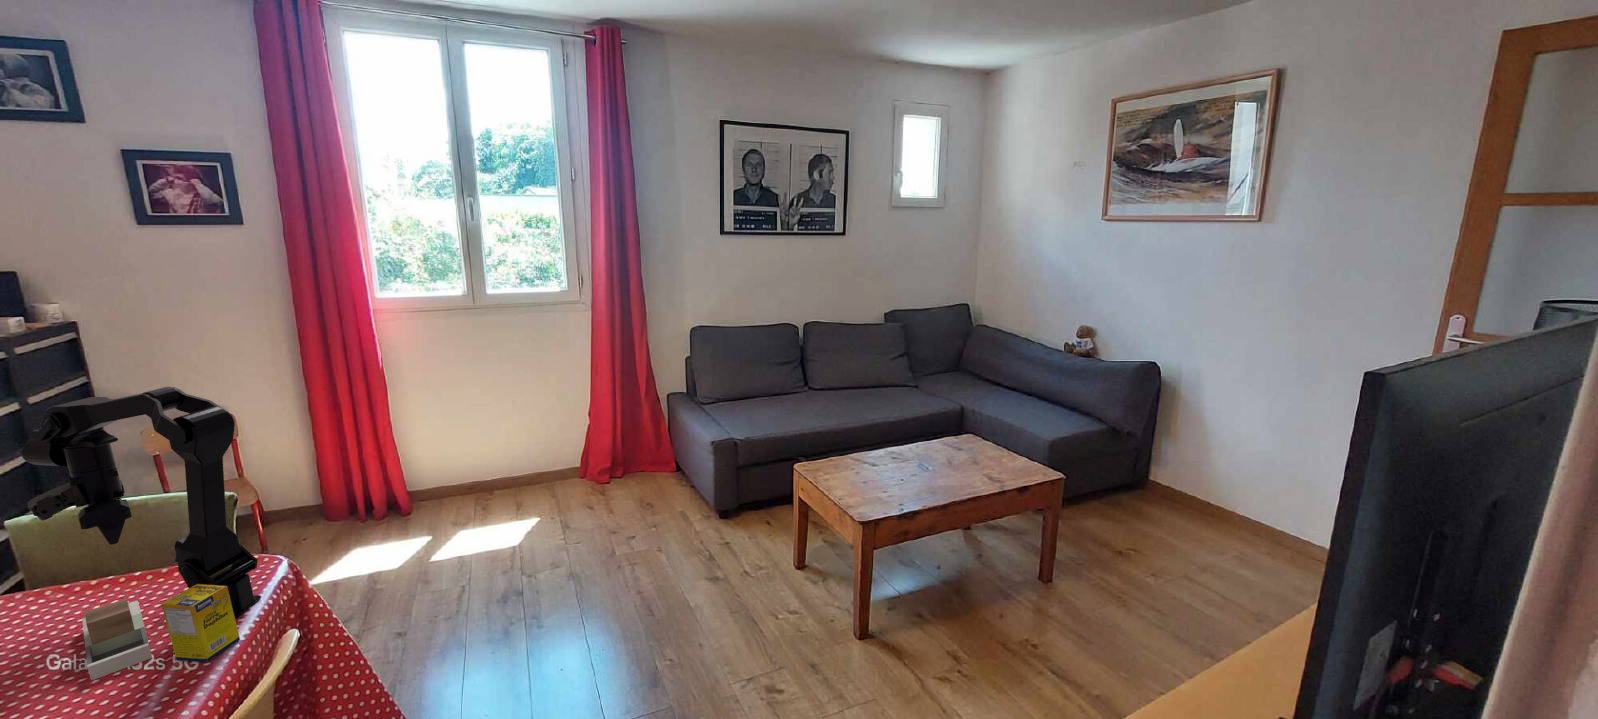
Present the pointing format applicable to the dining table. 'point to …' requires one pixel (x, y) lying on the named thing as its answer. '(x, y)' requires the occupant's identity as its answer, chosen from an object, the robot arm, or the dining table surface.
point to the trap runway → (118, 652)
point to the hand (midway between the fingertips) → (114, 543)
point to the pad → (116, 638)
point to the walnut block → (109, 621)
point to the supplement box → (201, 622)
